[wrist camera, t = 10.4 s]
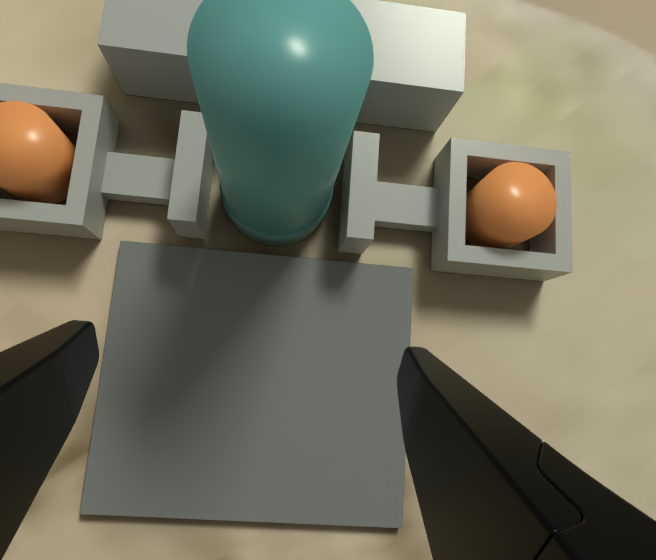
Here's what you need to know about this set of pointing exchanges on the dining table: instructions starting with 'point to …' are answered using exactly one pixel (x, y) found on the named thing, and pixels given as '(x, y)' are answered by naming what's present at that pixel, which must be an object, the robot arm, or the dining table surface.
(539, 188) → the right plunger
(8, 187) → the left plunger
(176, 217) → the housing
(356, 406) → the mat
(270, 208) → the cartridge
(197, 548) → the dining table surface
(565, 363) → the dining table surface
